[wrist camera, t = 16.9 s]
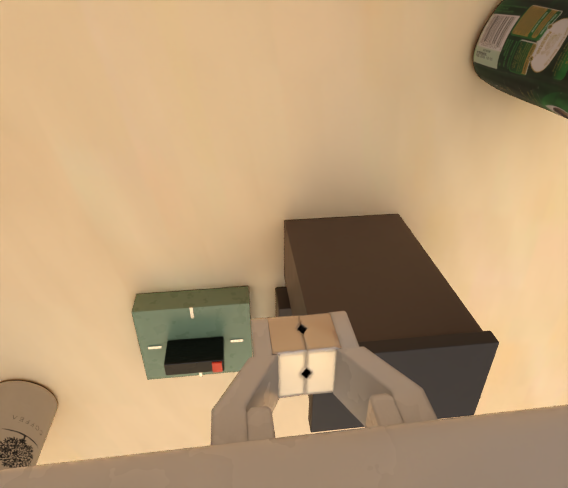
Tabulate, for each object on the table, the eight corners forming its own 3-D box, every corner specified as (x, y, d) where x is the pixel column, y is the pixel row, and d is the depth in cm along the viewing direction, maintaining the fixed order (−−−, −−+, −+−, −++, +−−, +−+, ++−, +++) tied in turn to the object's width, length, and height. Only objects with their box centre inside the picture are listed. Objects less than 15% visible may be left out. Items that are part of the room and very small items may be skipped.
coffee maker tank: (281, 278, 49) (310, 432, 32) (281, 217, 45) (314, 358, 28) (392, 270, 50) (473, 415, 34) (401, 210, 46) (499, 342, 30)
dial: (169, 351, 48) (165, 377, 45) (167, 340, 47) (163, 366, 44) (224, 346, 49) (224, 372, 46) (223, 335, 48) (223, 361, 45)
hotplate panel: (151, 360, 53) (147, 381, 50) (136, 293, 47) (131, 312, 45) (251, 352, 54) (253, 372, 51) (248, 285, 49) (249, 303, 46)
